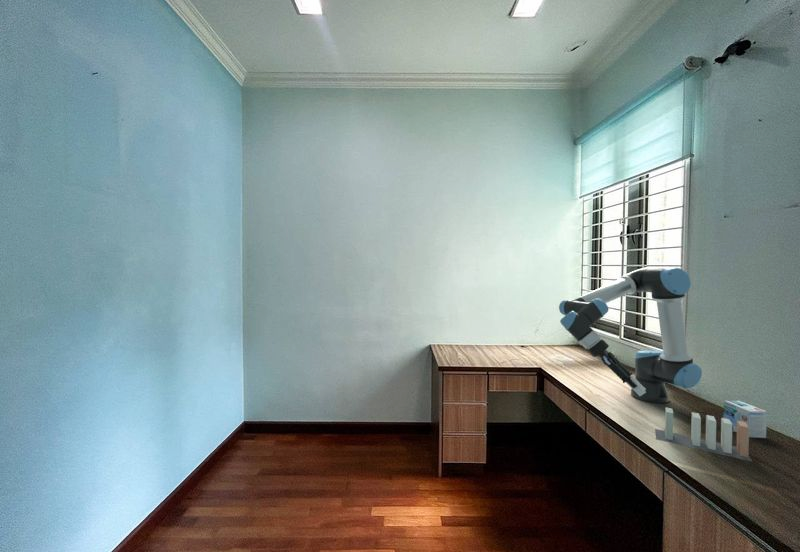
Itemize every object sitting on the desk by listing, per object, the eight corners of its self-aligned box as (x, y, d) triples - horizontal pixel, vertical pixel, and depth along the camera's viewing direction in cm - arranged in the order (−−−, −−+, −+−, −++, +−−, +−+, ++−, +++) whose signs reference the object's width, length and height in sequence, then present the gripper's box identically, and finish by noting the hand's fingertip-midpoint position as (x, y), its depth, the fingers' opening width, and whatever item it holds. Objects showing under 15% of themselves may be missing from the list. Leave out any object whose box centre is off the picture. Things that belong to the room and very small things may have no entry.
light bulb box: (722, 426, 137) (722, 399, 137) (739, 426, 137) (740, 400, 136) (748, 439, 126) (749, 411, 126) (767, 440, 126) (768, 411, 126)
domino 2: (691, 439, 125) (691, 412, 124) (698, 440, 123) (698, 413, 123) (692, 444, 121) (693, 416, 120) (700, 446, 119) (700, 418, 119)
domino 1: (665, 433, 129) (665, 407, 129) (671, 434, 128) (672, 408, 128) (665, 438, 125) (666, 411, 125) (672, 440, 124) (673, 413, 124)
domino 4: (720, 445, 120) (721, 417, 120) (728, 447, 119) (729, 419, 119) (723, 451, 116) (724, 422, 116) (731, 453, 115) (732, 424, 115)
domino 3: (705, 442, 122) (706, 414, 122) (713, 444, 121) (713, 416, 121) (707, 448, 118) (708, 419, 118) (715, 450, 117) (716, 421, 117)
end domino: (736, 449, 118) (737, 420, 118) (744, 451, 117) (745, 422, 116) (739, 455, 114) (740, 426, 113) (748, 457, 112) (749, 427, 112)
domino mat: (655, 430, 133) (655, 428, 133) (744, 450, 118) (744, 448, 118) (656, 441, 125) (656, 439, 125) (752, 464, 110) (752, 461, 110)
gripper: (589, 346, 148) (634, 392, 139) (584, 353, 135) (634, 404, 126) (603, 335, 145) (651, 381, 136) (599, 341, 132) (652, 393, 123)
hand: (642, 392), depth 131 cm, fingers open, 3 cm apart
